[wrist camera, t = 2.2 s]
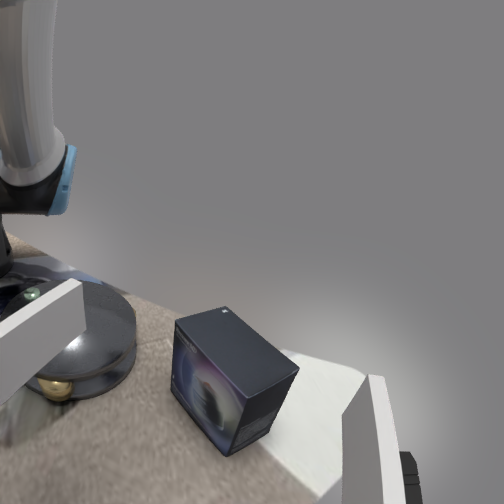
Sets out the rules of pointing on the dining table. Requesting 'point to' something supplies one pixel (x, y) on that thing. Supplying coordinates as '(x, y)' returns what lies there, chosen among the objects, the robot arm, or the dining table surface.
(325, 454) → the dining table surface
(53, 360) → the plate
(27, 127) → the robot arm
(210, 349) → the small box
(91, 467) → the dining table surface
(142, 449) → the dining table surface
